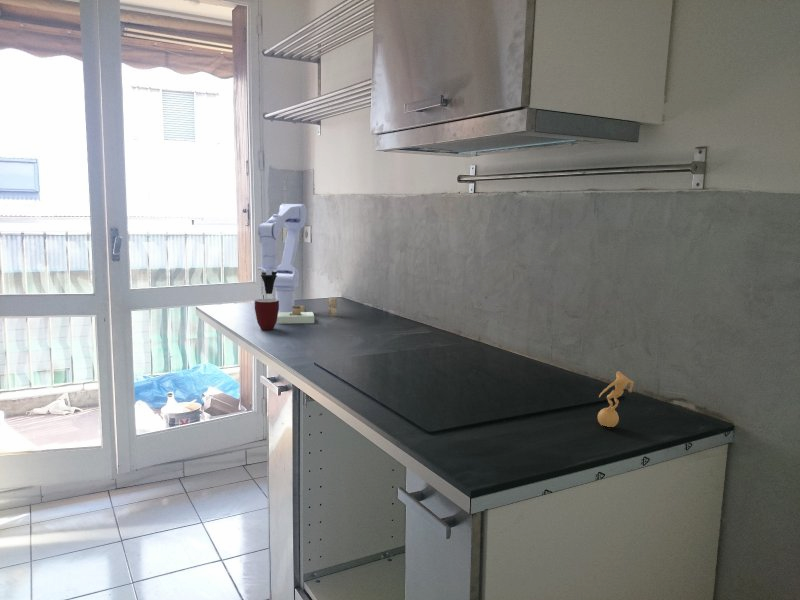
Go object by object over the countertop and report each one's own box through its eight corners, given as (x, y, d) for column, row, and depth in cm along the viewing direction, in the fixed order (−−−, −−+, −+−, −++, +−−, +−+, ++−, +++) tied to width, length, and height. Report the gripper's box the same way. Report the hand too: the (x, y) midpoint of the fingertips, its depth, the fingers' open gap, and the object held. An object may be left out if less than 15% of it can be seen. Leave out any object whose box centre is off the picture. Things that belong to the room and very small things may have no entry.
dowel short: (297, 315, 234) (297, 305, 234) (305, 315, 235) (305, 305, 234) (297, 317, 232) (297, 306, 231) (305, 317, 232) (305, 306, 232)
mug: (250, 326, 212) (249, 298, 210) (272, 325, 215) (272, 297, 214) (258, 332, 202) (258, 302, 201) (282, 330, 206) (281, 301, 205)
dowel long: (328, 315, 237) (328, 297, 236) (336, 315, 237) (336, 297, 236) (329, 316, 234) (329, 298, 233) (336, 316, 235) (337, 298, 233)
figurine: (615, 421, 125) (619, 364, 123) (638, 431, 119) (643, 372, 117) (584, 426, 121) (588, 368, 119) (606, 437, 116) (611, 376, 114)
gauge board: (277, 319, 227) (277, 312, 226) (312, 318, 229) (312, 312, 229) (277, 323, 218) (277, 316, 218) (314, 323, 221) (314, 316, 220)
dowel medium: (293, 320, 225) (293, 305, 224) (301, 320, 225) (301, 305, 224) (291, 321, 222) (291, 306, 221) (299, 321, 222) (299, 307, 221)
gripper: (258, 254, 230) (258, 289, 232) (257, 257, 216) (257, 295, 218) (277, 254, 232) (277, 289, 234) (277, 257, 217) (277, 295, 220)
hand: (269, 292), depth 226 cm, fingers open, 7 cm apart
